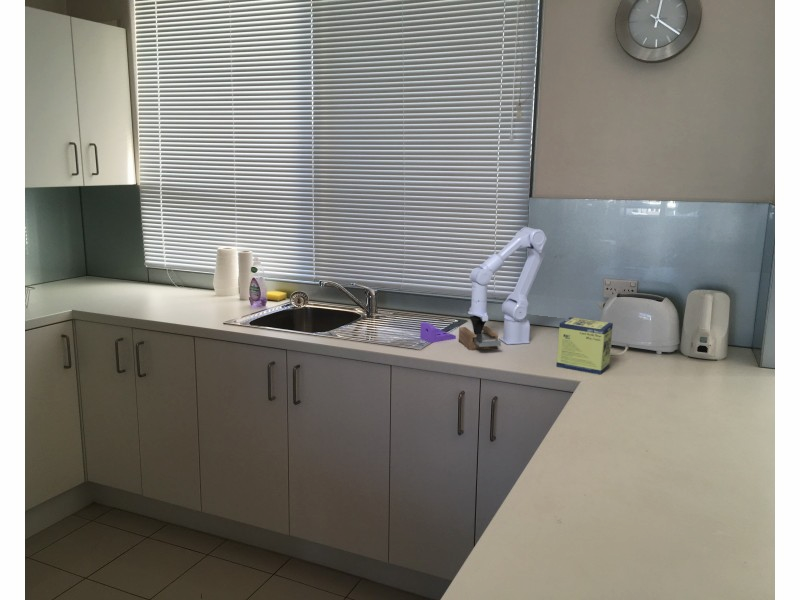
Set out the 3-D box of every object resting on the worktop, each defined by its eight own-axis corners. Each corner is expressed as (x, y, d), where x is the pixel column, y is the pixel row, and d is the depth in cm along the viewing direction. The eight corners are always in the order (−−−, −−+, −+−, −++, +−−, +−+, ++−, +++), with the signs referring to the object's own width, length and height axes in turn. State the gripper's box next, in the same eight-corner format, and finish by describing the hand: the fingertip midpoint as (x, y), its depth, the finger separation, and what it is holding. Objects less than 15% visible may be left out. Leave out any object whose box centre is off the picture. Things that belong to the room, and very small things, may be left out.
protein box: (601, 375, 222) (605, 329, 219) (555, 366, 230) (558, 322, 227) (610, 367, 231) (613, 322, 228) (565, 359, 239) (568, 316, 236)
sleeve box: (485, 340, 262) (486, 326, 261) (497, 348, 250) (498, 334, 249) (458, 341, 259) (459, 327, 258) (469, 350, 248) (469, 335, 247)
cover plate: (488, 337, 255) (488, 332, 254) (500, 345, 243) (500, 340, 243) (468, 338, 253) (468, 333, 252) (479, 346, 241) (479, 341, 241)
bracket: (430, 343, 257) (431, 326, 255) (420, 339, 262) (420, 322, 261) (455, 339, 263) (456, 322, 262) (444, 335, 269) (445, 318, 267)
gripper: (462, 296, 257) (461, 331, 260) (475, 304, 244) (474, 341, 247) (479, 295, 259) (478, 330, 262) (494, 304, 245) (492, 340, 248)
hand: (477, 335), depth 254 cm, fingers closed
